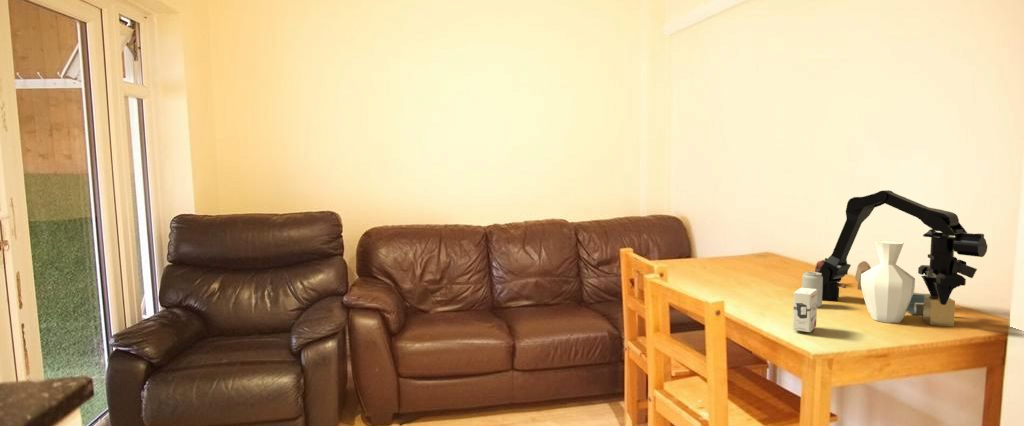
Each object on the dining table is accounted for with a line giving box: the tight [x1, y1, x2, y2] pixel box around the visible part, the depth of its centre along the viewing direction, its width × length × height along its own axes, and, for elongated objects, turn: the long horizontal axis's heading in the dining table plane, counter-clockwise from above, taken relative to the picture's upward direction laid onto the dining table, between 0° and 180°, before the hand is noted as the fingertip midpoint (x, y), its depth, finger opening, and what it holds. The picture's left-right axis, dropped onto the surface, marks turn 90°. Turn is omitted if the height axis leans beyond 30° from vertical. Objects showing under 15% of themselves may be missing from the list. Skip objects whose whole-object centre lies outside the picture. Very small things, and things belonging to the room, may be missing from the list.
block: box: [922, 295, 956, 328], centre depth 171 cm, size 6×6×8 cm
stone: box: [854, 260, 872, 291], centre depth 222 cm, size 19×10×4 cm
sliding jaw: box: [909, 292, 931, 304], centre depth 194 cm, size 18×2×3 cm, turn 71°
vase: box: [861, 240, 916, 324], centre depth 176 cm, size 14×14×25 cm
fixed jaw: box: [914, 303, 924, 314], centre depth 180 cm, size 10×2×3 cm, turn 71°
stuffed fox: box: [814, 257, 847, 288], centre depth 222 cm, size 8×11×12 cm
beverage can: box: [801, 271, 823, 309], centre depth 194 cm, size 6×6×12 cm
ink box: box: [792, 287, 818, 333], centre depth 167 cm, size 8×5×12 cm, turn 140°
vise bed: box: [906, 304, 923, 317], centre depth 187 cm, size 11×16×1 cm
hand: (939, 302), depth 171 cm, fingers open, 6 cm apart
